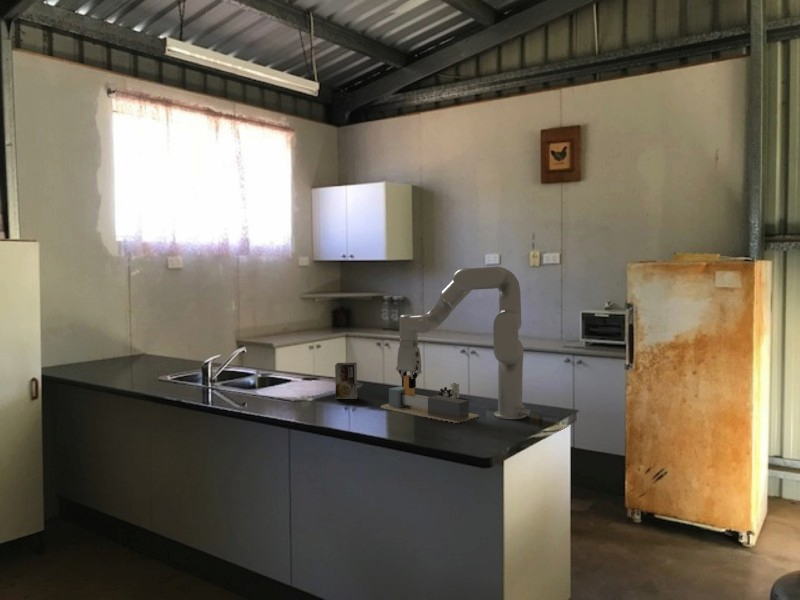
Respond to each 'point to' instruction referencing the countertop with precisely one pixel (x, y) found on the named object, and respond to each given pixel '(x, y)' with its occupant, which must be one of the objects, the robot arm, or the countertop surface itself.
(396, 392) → the socket block
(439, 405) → the stand
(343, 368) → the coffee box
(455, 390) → the valve
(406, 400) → the sliding bar with handle
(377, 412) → the countertop surface
